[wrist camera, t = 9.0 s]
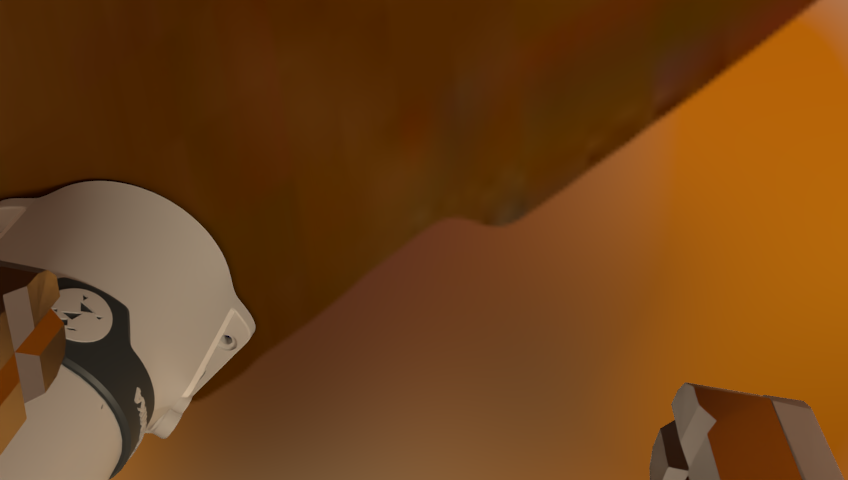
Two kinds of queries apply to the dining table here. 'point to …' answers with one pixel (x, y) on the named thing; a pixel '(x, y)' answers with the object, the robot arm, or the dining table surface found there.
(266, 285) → the dining table surface
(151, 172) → the dining table surface
